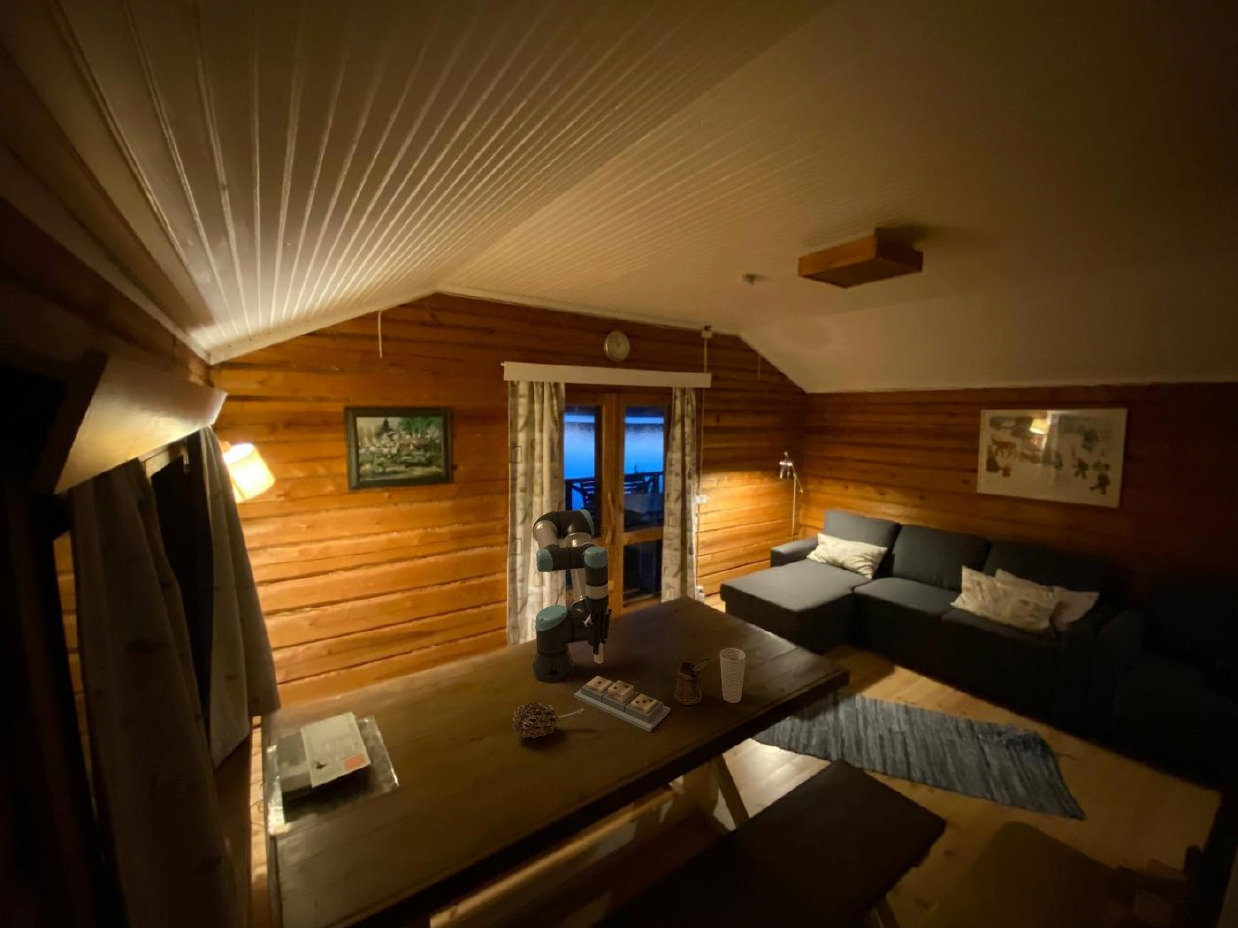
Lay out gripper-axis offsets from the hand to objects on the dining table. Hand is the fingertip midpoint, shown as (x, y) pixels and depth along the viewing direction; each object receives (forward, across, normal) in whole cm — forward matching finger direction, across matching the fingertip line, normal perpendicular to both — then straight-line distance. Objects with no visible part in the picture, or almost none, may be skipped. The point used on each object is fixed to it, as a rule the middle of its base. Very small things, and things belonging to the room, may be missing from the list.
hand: (598, 661), depth 170 cm
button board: (+12, 0, -9) cm, 15 cm away
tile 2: (+9, 0, -9) cm, 13 cm away
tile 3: (+10, 0, -18) cm, 21 cm away
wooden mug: (+12, +15, -27) cm, 33 cm away
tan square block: (+11, 0, 0) cm, 11 cm away
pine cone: (+12, -23, +1) cm, 26 cm away
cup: (+12, +24, -37) cm, 46 cm away
